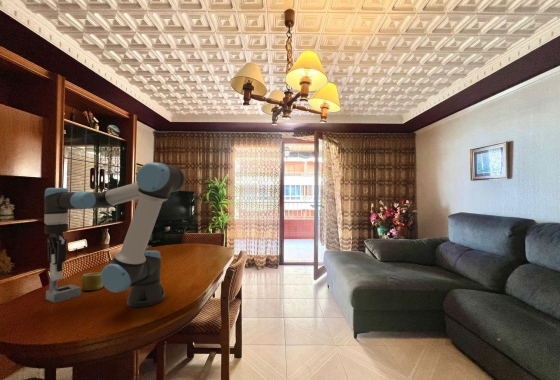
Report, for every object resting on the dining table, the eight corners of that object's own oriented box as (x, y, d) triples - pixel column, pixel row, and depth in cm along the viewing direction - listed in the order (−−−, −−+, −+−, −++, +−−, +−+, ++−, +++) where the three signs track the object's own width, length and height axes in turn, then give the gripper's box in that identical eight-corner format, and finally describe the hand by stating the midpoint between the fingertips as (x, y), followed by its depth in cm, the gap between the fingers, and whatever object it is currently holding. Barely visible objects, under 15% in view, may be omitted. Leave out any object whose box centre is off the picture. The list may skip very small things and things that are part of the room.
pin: (62, 279, 105) (62, 253, 105) (53, 281, 102) (53, 255, 102) (59, 278, 106) (59, 252, 107) (50, 280, 104) (50, 254, 104)
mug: (92, 290, 122) (91, 269, 125) (76, 295, 124) (76, 275, 127) (114, 286, 134) (113, 268, 137) (99, 291, 136) (98, 272, 139)
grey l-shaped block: (80, 295, 120) (81, 275, 120) (54, 303, 111) (54, 281, 112) (64, 289, 129) (64, 270, 130) (39, 295, 120) (39, 275, 121)
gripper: (75, 223, 104) (75, 278, 104) (59, 222, 112) (59, 273, 112) (52, 224, 98) (52, 283, 97) (37, 224, 106) (37, 278, 105)
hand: (56, 278), depth 104 cm, fingers closed on pin, 3 cm apart
